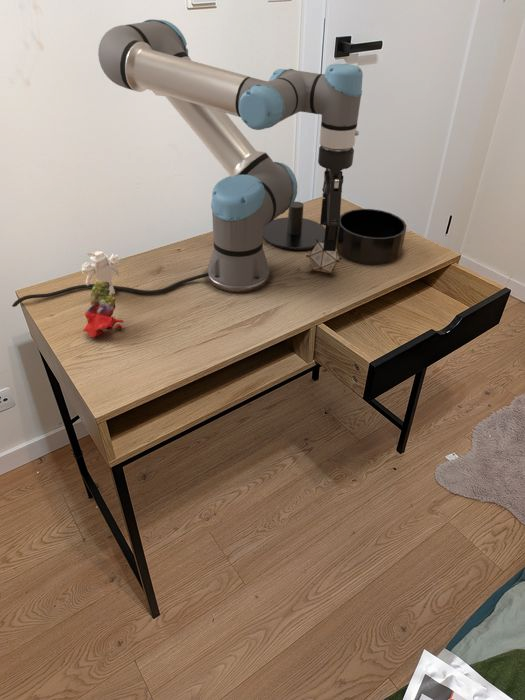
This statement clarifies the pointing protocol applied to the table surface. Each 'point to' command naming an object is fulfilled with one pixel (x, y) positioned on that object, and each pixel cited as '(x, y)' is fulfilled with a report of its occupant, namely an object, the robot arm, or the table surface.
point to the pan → (370, 236)
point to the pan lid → (294, 230)
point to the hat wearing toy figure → (102, 268)
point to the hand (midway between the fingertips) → (327, 236)
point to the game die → (323, 258)
